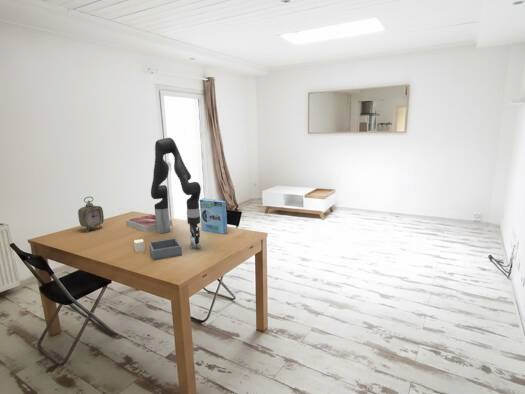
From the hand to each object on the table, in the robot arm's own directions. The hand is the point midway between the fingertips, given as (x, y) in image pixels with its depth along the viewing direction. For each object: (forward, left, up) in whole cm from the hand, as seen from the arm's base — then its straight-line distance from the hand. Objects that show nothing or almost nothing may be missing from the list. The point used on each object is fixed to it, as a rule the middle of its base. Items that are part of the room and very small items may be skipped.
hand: (195, 241), depth 194 cm
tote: (0, -18, -4) cm, 18 cm away
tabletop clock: (-74, -58, -5) cm, 94 cm away
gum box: (-26, +20, -5) cm, 33 cm away
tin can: (0, 0, -4) cm, 4 cm away
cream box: (-14, -31, -4) cm, 34 cm away
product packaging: (-65, -19, -5) cm, 68 cm away
